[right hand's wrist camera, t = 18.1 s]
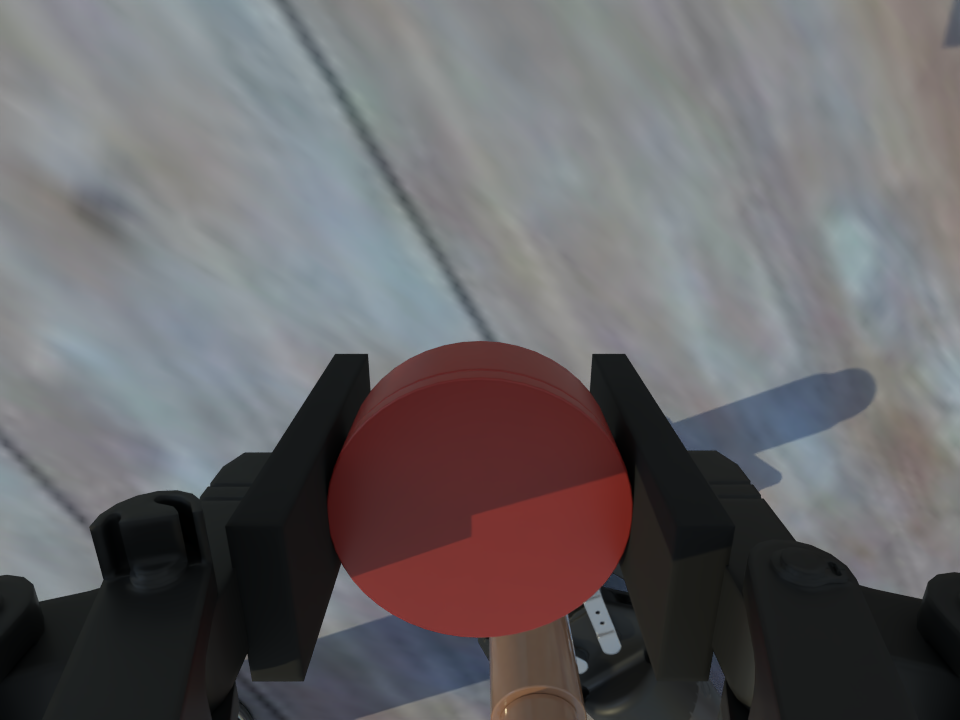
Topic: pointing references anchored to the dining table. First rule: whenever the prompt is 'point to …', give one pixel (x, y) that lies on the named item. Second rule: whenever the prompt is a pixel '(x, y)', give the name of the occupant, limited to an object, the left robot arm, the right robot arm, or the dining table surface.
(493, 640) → the wooden cylinder
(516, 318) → the dining table surface
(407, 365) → the lid
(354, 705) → the dining table surface
